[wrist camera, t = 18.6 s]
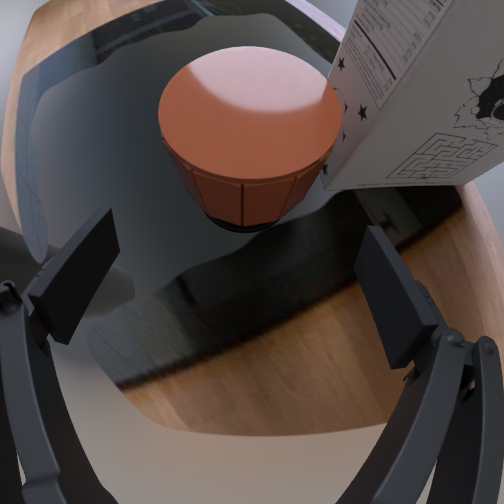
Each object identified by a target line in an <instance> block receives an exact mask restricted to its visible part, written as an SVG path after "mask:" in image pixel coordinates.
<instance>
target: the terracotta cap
mask: <svg viewBox="0 0 504 504" xmlns="http://www.w3.org/2000/svg"><path fill="white" fill-rule="evenodd" d="M158 118H159V125H160V129H161V137H162V140H163V143H164V145H165V147H166V149H167V151H168V153H169V155H170V157H171V159H172V161H173V163H174V165H175V167H176V169H177V171H178V173H179V175H180V177H181V179H182V181H183V183H184V185H185V187H186V189H187V191H188V192H189V194H190V195H191V196H192V197H193V199H194V200H195V201H196V202H197V203H198V204H199V206H200V207H201V208H202V209H203V210H204V211H205V213H206V214H208V213H209V216H212V217H215V218H218V219H221V220H224V221H226V222H229V223H232V224H235V225H238V226H241V225H242V223H243V226H250V225H255V224H261V223H267V222H273V221H277V219H281V218H282V217H283V216H284V215H285V214H286V213H288V212H289V211H290V210H291V209H293V208H294V207H295V206H296V205H297V204H298V203H300V202H301V201H302V200H303V198H304V197H305V195H306V194H307V192H308V190H309V189H310V187H311V185H312V184H313V182H314V181H315V179H316V177H317V176H318V174H319V172H320V171H321V169H322V167H323V166H324V164H325V162H326V161H327V159H328V157H329V156H330V154H331V152H332V151H333V148H334V144H335V140H336V138H337V136H338V133H339V130H340V126H341V108H340V103H339V100H338V97H337V95H336V93H335V91H334V89H333V88H332V86H331V84H330V83H329V82H328V81H327V79H326V78H325V77H324V76H323V75H322V74H321V73H320V72H319V71H317V70H316V69H315V68H314V67H313V66H311V65H310V64H308V63H306V62H305V61H303V60H301V59H299V58H297V57H295V56H293V55H290V54H288V53H285V52H282V51H278V50H274V49H269V48H262V47H234V48H227V49H223V50H219V51H215V52H212V53H209V54H206V55H204V56H202V57H200V58H198V59H196V60H194V61H193V62H191V63H189V64H188V65H186V66H185V67H184V68H182V69H181V70H180V71H179V72H178V73H177V74H176V75H175V76H174V77H173V78H172V79H171V81H170V82H169V83H168V85H167V86H166V88H165V90H164V92H163V94H162V97H161V100H160V104H159V110H158Z"/></svg>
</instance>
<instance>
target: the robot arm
mask: <svg viewBox="0 0 504 504" xmlns="http://www.w3.org/2000/svg"><path fill="white" fill-rule="evenodd" d="M119 253H120V248H119V244H118V240H117V235H116V230H115V225H114V220H113V214H112V209H111V208H99V209H98V210H97V211H96V212H95V213H94V214H93V215H92V216H91V217H90V218H89V219H88V220H87V221H86V222H85V223H84V224H83V225H82V226H81V228H80V229H79V230H78V231H77V232H76V233H75V234H74V235H73V236H72V238H71V239H70V240H69V241H68V242H67V243H66V244H65V246H64V247H63V248H62V249H61V250H60V252H59V253H58V254H57V255H55V256H54V257H52V258H51V259H50V260H48V261H47V262H46V263H45V264H44V266H43V267H42V268H41V271H39V272H38V273H37V275H36V277H34V279H33V280H32V281H31V283H30V284H29V285H28V287H27V288H26V289H25V291H24V292H23V294H22V295H20V294H19V292H18V290H17V288H16V286H15V284H14V282H12V281H4V282H2V283H0V504H118V502H117V501H116V500H115V499H114V497H113V496H112V495H111V494H110V493H109V492H108V491H107V490H106V489H105V488H104V487H103V486H102V485H101V483H100V481H99V480H98V478H97V476H96V474H95V472H94V470H93V468H92V466H91V464H90V462H89V460H88V458H87V456H86V454H85V452H84V450H83V448H82V445H81V443H80V441H79V438H78V436H77V434H76V431H75V429H74V426H73V424H72V421H71V419H70V416H69V413H68V410H67V408H66V404H65V401H64V398H63V395H62V392H61V389H60V385H59V382H58V378H57V375H56V371H55V367H54V363H53V359H52V355H51V350H50V345H49V342H48V340H47V339H46V338H47V336H48V334H49V333H50V334H51V336H52V337H53V339H54V341H56V342H59V343H62V344H65V345H68V344H69V342H70V340H71V338H72V336H73V334H74V332H75V330H76V328H77V326H78V324H79V322H80V320H81V318H82V316H83V314H84V312H85V310H86V309H87V307H88V305H89V303H90V301H91V299H92V298H93V296H94V294H95V292H96V291H97V289H98V287H99V285H100V284H101V282H102V280H103V279H104V277H105V275H106V274H107V272H108V270H109V269H110V267H111V265H112V264H113V262H114V261H115V259H116V257H117V256H118V254H119ZM353 269H354V271H355V273H356V276H357V278H358V281H359V283H360V285H361V288H362V290H363V293H364V295H365V298H366V300H367V303H368V306H369V308H370V311H371V313H372V316H373V319H374V321H375V324H376V327H377V330H378V333H379V335H380V338H381V341H382V344H383V347H384V350H385V353H386V356H387V359H388V362H389V365H390V368H391V370H392V369H399V368H405V367H406V366H407V365H408V364H409V363H410V362H411V360H412V359H413V361H414V364H415V366H414V367H413V368H412V370H411V371H410V372H409V373H408V374H407V375H406V376H405V377H404V379H403V381H405V380H406V379H407V378H408V380H407V382H406V384H405V387H404V389H403V391H402V394H401V396H400V398H399V400H398V402H397V405H396V407H395V409H394V411H393V413H392V415H391V417H390V419H389V421H388V423H387V425H386V427H385V428H384V430H383V432H382V434H381V436H380V438H379V440H378V441H377V443H376V445H375V446H374V448H373V450H372V451H371V453H370V455H369V456H368V458H367V460H366V461H365V463H364V464H363V466H362V468H361V469H360V471H359V472H358V473H357V475H356V477H355V478H354V479H353V481H352V482H351V484H350V485H349V486H348V488H347V489H346V490H345V492H344V493H343V494H342V496H341V497H340V498H339V500H338V501H337V502H336V503H335V504H416V502H417V500H418V498H419V497H420V495H421V493H422V491H423V489H424V487H425V485H426V483H427V480H428V478H429V476H430V474H431V472H432V470H433V467H434V465H435V463H436V460H437V463H436V468H435V473H434V477H433V481H432V485H431V489H430V493H429V496H428V499H427V503H426V504H497V500H498V494H499V489H500V483H501V477H502V469H503V460H504V389H503V378H502V370H501V363H500V356H499V351H498V347H497V345H496V344H495V342H494V340H493V339H491V338H490V337H488V336H482V337H480V338H479V340H478V341H477V342H476V343H472V342H468V341H466V340H465V338H464V336H463V335H462V334H461V333H460V332H459V331H458V330H456V329H454V328H448V326H447V324H446V322H445V320H444V318H443V317H442V315H441V313H440V311H439V309H438V307H437V306H436V305H435V302H434V300H433V299H432V298H431V295H430V293H429V292H428V290H427V288H426V287H425V286H424V285H423V284H422V283H421V282H420V281H419V280H414V278H413V276H412V275H411V273H410V271H409V270H408V268H407V266H406V265H405V263H404V262H403V260H402V259H401V257H400V255H399V254H398V252H397V251H396V249H395V248H394V246H393V245H392V243H391V242H390V240H389V239H388V237H387V236H386V235H385V233H384V232H383V230H382V229H381V227H377V226H369V225H367V229H366V232H365V235H364V238H363V241H362V244H361V247H360V250H359V253H358V256H357V259H356V261H355V264H354V267H353ZM474 381H475V387H474V388H473V389H471V384H472V383H473V382H474ZM16 450H17V451H16ZM17 453H18V456H19V460H20V462H21V466H22V468H23V471H24V474H25V477H26V482H25V484H24V485H23V486H22V482H21V477H20V472H19V465H18V459H17Z"/></svg>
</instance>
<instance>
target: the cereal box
mask: <svg viewBox="0 0 504 504" xmlns="http://www.w3.org/2000/svg"><path fill="white" fill-rule="evenodd" d="M327 81H328V82H329V83H330V84H331V86H332V88H333V89H334V91H335V93H336V95H337V97H338V100H339V103H340V108H341V126H340V130H339V133H338V136H337V138H336V140H335V144H334V148H333V151H332V152H331V154H330V156H329V157H328V159H327V161H326V162H325V164H324V166H323V167H322V169H321V171H320V176H321V180H322V184H323V188H324V190H326V191H331V190H344V189H358V188H375V187H395V186H424V185H465V184H467V183H468V182H470V181H472V180H473V179H475V178H477V177H479V176H480V175H482V174H484V173H485V172H487V171H489V170H490V169H492V168H494V167H495V166H497V165H498V164H500V163H502V162H503V161H504V0H357V3H356V6H355V8H354V11H353V14H352V16H351V19H350V21H349V24H348V26H347V29H346V32H345V34H344V37H343V39H342V42H341V45H340V47H339V50H338V52H337V55H336V57H335V60H334V63H333V65H332V68H331V71H330V73H329V76H328V78H327Z"/></svg>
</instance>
